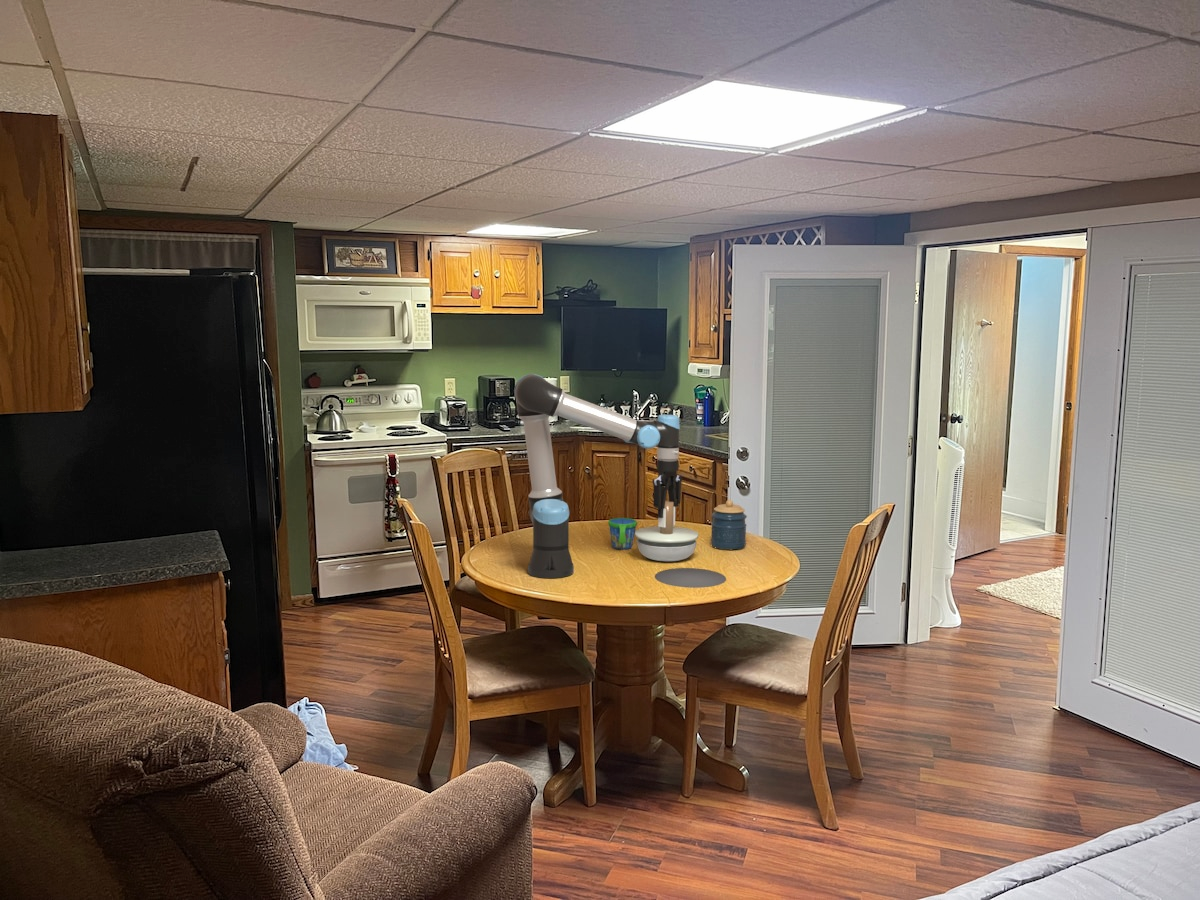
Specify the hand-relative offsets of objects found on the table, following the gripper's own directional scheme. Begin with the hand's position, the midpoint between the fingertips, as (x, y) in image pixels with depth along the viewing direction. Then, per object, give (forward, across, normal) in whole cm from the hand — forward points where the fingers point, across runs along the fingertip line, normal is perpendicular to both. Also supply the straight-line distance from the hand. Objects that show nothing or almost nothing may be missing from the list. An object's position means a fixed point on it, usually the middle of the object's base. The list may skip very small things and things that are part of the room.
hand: (666, 525), depth 308 cm
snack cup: (+12, +1, +22) cm, 25 cm away
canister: (+12, +31, -4) cm, 34 cm away
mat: (+12, -14, -22) cm, 29 cm away
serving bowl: (+12, 0, 0) cm, 12 cm away
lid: (+4, 0, 0) cm, 4 cm away
